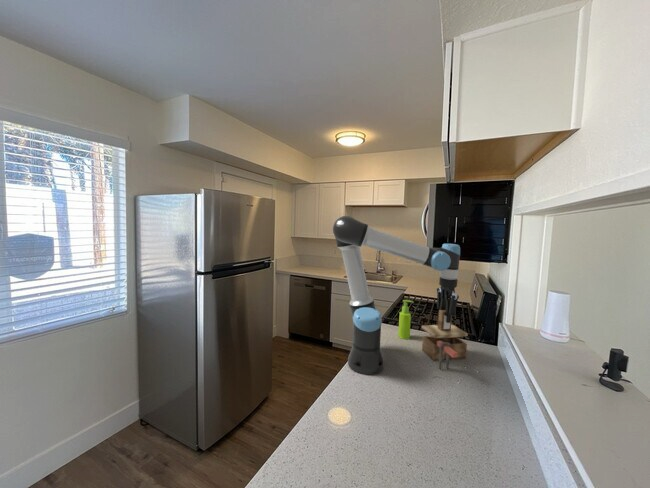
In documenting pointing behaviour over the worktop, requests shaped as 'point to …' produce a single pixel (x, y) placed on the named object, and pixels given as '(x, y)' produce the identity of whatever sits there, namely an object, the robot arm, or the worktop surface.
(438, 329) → the wooden board with post
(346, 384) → the worktop surface
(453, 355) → the red bar
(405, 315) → the soap dispenser
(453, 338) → the toolbox
